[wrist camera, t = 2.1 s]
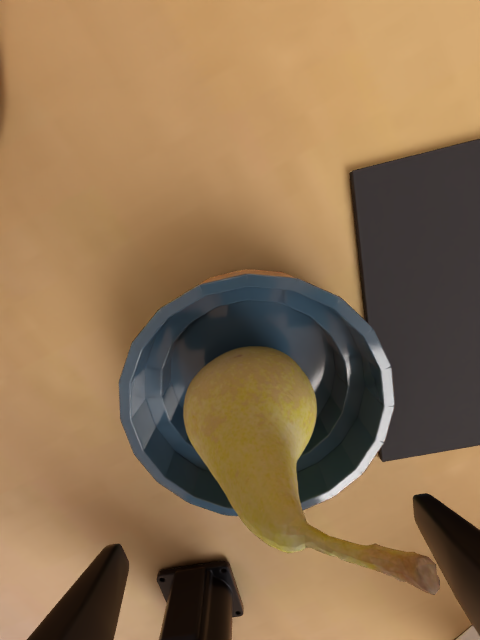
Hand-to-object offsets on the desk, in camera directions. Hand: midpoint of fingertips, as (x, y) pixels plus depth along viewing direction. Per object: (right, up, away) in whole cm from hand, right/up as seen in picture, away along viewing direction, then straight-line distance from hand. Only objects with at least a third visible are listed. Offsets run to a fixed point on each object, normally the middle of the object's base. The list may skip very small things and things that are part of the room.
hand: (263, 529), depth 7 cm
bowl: (0, +3, +10) cm, 10 cm away
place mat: (+12, +6, +9) cm, 16 cm away
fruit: (0, +3, +10) cm, 10 cm away
